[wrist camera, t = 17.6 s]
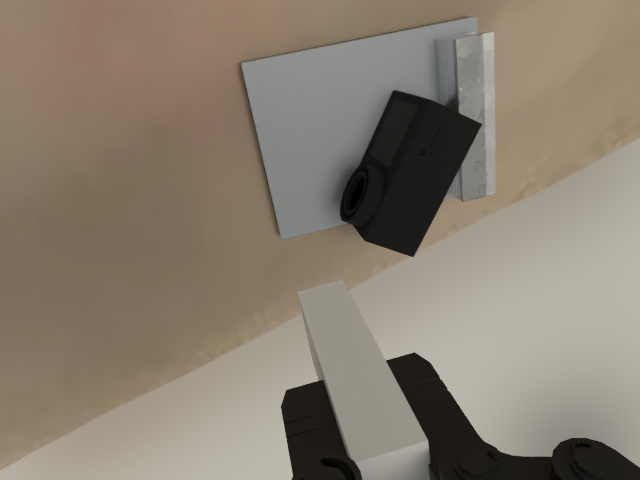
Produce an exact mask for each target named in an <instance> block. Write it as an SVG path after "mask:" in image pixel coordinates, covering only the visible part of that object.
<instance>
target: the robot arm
mask: <svg viewBox="0 0 640 480" xmlns="http://www.w3.org/2000/svg"><path fill="white" fill-rule="evenodd" d="M297 293H298V298H299V302H300V306H301V311H302V315H303V319H304V324H305V328H306V332H307V337H308V341H309V346H310V350H311V355H312V359H313V363H314V366H315V369H316V372H317V376H318V379H319V381H317V382H313V383H310V384H306V385H303V386H300V387H296V388H292V389H289V390H287V391H286V393H285V396H284V399H283V402H282V405H281V409H282V415H283V421H284V426H285V432H286V437H287V443H288V449H289V455H290V460H291V466H292V472H293V478H292V480H640V468H639V467H638V466H636V465H635V464H634V463H632V462H631V461H629V460H628V459H627V458H625V457H624V456H623V455H621V454H620V453H619V452H617V451H616V450H614V449H612V448H611V447H609V446H607V445H605V444H603V443H602V442H598V441H594V440H591V439H587V438H571V439H568V440H566V441H563V442H560V443H559V445H558V446H557V447H556V448H555V449H554V450H553V456H552V457H521V456H512V455H509V454H505V453H502V452H500V451H498V450H497V448H495V447H494V446H492V445H490V444H488V443H486V442H484V441H483V440H482V439H481V438H480V436H479V435H478V434H477V432H476V431H475V430H474V428H473V426H472V425H471V424H470V422H469V420H468V419H467V417H466V416H465V415H464V413H463V412H462V410H461V409H460V407H459V405H458V404H457V402H456V401H455V400H454V398H453V396H452V395H451V393H450V392H449V391H448V390H447V387H446V386H445V384H444V383H443V382H442V380H440V378H439V375H438V374H437V372H436V371H435V369H434V368H433V366H432V365H431V363H430V362H428V361H427V360H425V359H424V358H422V357H421V356H419V355H418V354H416V353H411V354H408V355H404V356H401V357H397V358H394V359H390V360H385V358H384V357H383V355H382V353H381V351H380V349H379V347H378V345H377V343H376V342H375V339H374V338H373V336H372V334H371V332H370V330H369V328H368V326H367V324H366V322H365V321H364V319H363V317H362V315H361V313H360V311H359V310H358V307H357V306H356V304H355V302H354V300H353V298H352V296H351V294H350V292H349V290H348V288H347V287H346V285H345V283H344V281H343V280H340V281H336V282H332V283H328V284H325V285H321V286H317V287H313V288H309V289H305V290H302V291H298V292H297Z"/></svg>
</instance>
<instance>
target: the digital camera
mask: <svg viewBox="0 0 640 480" xmlns="http://www.w3.org/2000/svg"><path fill="white" fill-rule="evenodd" d="M481 126H482V124H481V123H479V122H477V121H475V120H473V119H471V118H469V117H467V116H465V115H462V114H460V113H458V112H457V111H454V110H452V109H450V108H448V107H446V106H444V105H442V104H439V103H437V102H435V101H433V100H430V99H427V98H423V97H420V96H416V95H412V94H409V93H405V92H401V91H397V90H394V91H393V92H392V95H391V97H390V99H389V101H388V103H387V106H386V108H385V110H384V112H383V114H382V117H381V119H380V121H379V123H378V125H377V128H376V130H375V132H374V134H373V137H372V139H371V141H370V143H369V145H368V148H367V150H366V152H365V154H364V156H363V159H362V161H361V163H360V165H359V167H357V168H356V170H355V171H354V172H353V173H352V175H351V176H350V178H349V180H348V182H347V184H346V187H345V189H344V192H343V195H342V199H341V204H340V217H341V219H342V221H344V222H347V223H350V224H353V226H354V227H355V228H356V230H357V231H358V233H359V234H360V235H361V237H362V238H363V239H364V240H365V241H367V242H370V243H373V244H376V245H379V246H382V247H385V248H388V249H391V250H394V251H397V252H400V253H403V254H405V255H408V256H411V257H414V255H415V253H416V251H417V249H418V247H419V245H420V244H421V242H422V240H423V238H424V236H425V234H426V232H427V230H428V228H429V227H430V225H431V223H432V221H433V219H434V217H435V215H436V213H437V211H438V209H439V207H440V205H441V203H442V202H443V200H444V198H445V196H446V194H447V192H448V190H449V188H450V186H451V184H452V182H453V180H454V178H455V177H456V175H457V173H458V171H459V169H460V167H461V165H462V163H463V161H464V159H465V157H466V155H467V153H468V151H469V149H470V147H471V145H472V143H473V141H474V140H475V138H476V136H477V134H478V132H479V130H480V128H481Z"/></svg>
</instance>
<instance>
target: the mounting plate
mask: <svg viewBox="0 0 640 480" xmlns="http://www.w3.org/2000/svg"><path fill="white" fill-rule="evenodd" d="M469 32H475V34H478V30H477V16H475V17H466V18H461V19H456V20H451V21H446V22H441V23H436V24H431V25H426V26H421V27H415V28H410V29H405V30H400V31H395V32H390V33H385V34H380V35H375V36H370V37H365V38H360V39H355V40H350V41H345V42H340V43H335V44H330V45H325V46H320V47H315V48H310V49H305V50H300V51H295V52H290V53H285V54H280V55H275V56H270V57H265V58H260V59H255V60H250V61H245V62H240V65H241V69H242V73H243V78H244V82H245V86H246V91H247V95H248V99H249V103H250V108H251V112H252V116H253V121H254V125H255V129H256V134H257V138H258V142H259V147H260V151H261V155H262V159H263V164H264V168H265V172H266V177H267V181H268V185H269V190H270V194H271V198H272V203H273V207H274V211H275V215H276V220H277V224H278V228H279V233H280V236H281V239H282V240H284V239H288V238H292V237H296V236H300V235H304V234H308V233H312V232H316V231H320V230H324V229H329V228H333V227H337V226H341V225H345V224H349V223H347V222H344V221H342V219H341V217H340V204H341V199H342V195H343V192H344V189H345V187H346V184H347V182H348V180H349V178H350V176H351V175H352V173H353V172H354V171H355V170H356V168H357V167H359V165H360V163H361V161H362V159H363V156H364V154H365V152H366V150H367V148H368V145H369V143H370V141H371V139H372V137H373V134H374V132H375V130H376V128H377V125H378V123H379V121H380V119H381V117H382V114H383V112H384V110H385V108H386V106H387V103H388V101H389V99H390V97H391V95H392V92H393V91H394V90H397V91H401V92H405V93H409V94H412V95H416V96H420V97H423V98H427V99H430V100H433V101H435V102H437V103H438V90H437V74H436V58H435V42H434V39H439V38H444V37H449V36H454V35H459V34H464V33H469ZM451 198H455V196H453V195H452V194H450V193H449V192H447V194H446V196H445V198H444V200H447V199H451Z"/></svg>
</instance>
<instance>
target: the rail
mask: <svg viewBox="0 0 640 480" xmlns="http://www.w3.org/2000/svg"><path fill="white" fill-rule="evenodd" d="M434 42H435V58H436V74H437V90H438V103H439V104H442V105H444V106H446V107H448V108H450V109H452V110H454V111H457V112H458V113H460V114H462V115H465V116H467V117H469V118H471V119H473V120H475V121H477V122H479V123H481V124H482V126H481V128H480V130H479V132H478V134H477V136H476V138H475V140H474V141H473V143H472V145H471V147H470V149H469V151H468V153H467V155H466V157H465V159H464V161H463V163H462V165H461V167H460V169H459V171H458V173H457V175H456V177H455V178H454V180H453V182H452V184H451V186H450V188H449V190H448V192H449V193H450V194H452V195H453V196H455V197H456V198H458V199H459V200H461V201H462V202H465V201H469V200H474V199H478V198H482V197H486V196H490V195H494V194H496V165H495V81H494V32H486V33H481V34H475V32H469V33H464V34H459V35H454V36H449V37H444V38H439V39H434Z"/></svg>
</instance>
